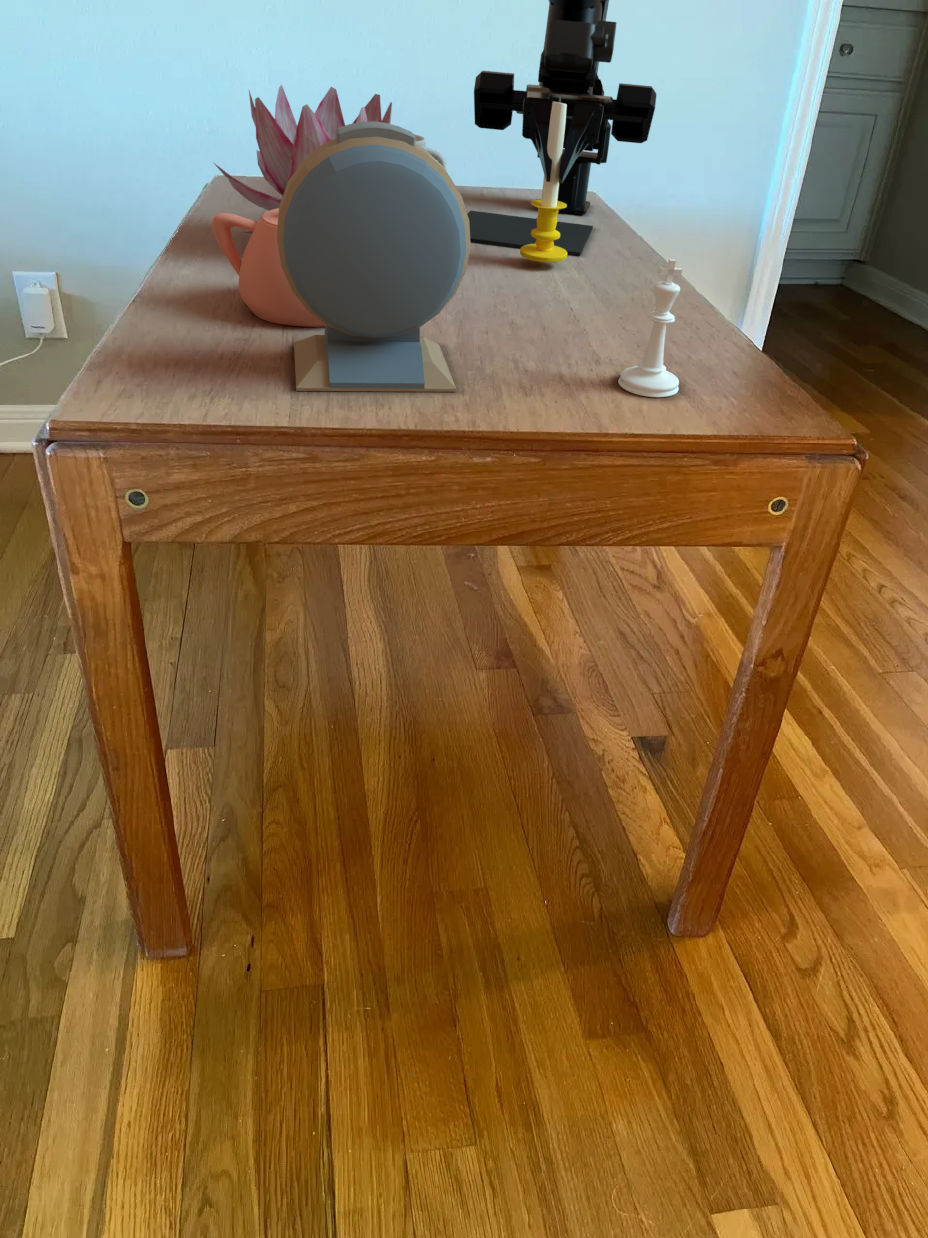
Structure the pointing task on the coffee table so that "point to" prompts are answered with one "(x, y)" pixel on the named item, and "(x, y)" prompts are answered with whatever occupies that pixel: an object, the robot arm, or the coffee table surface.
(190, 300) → the coffee table surface
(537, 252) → the candle
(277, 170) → the decorative flower
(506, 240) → the mat
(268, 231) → the teapot
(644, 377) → the chess piece
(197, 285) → the coffee table surface
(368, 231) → the alarm clock
